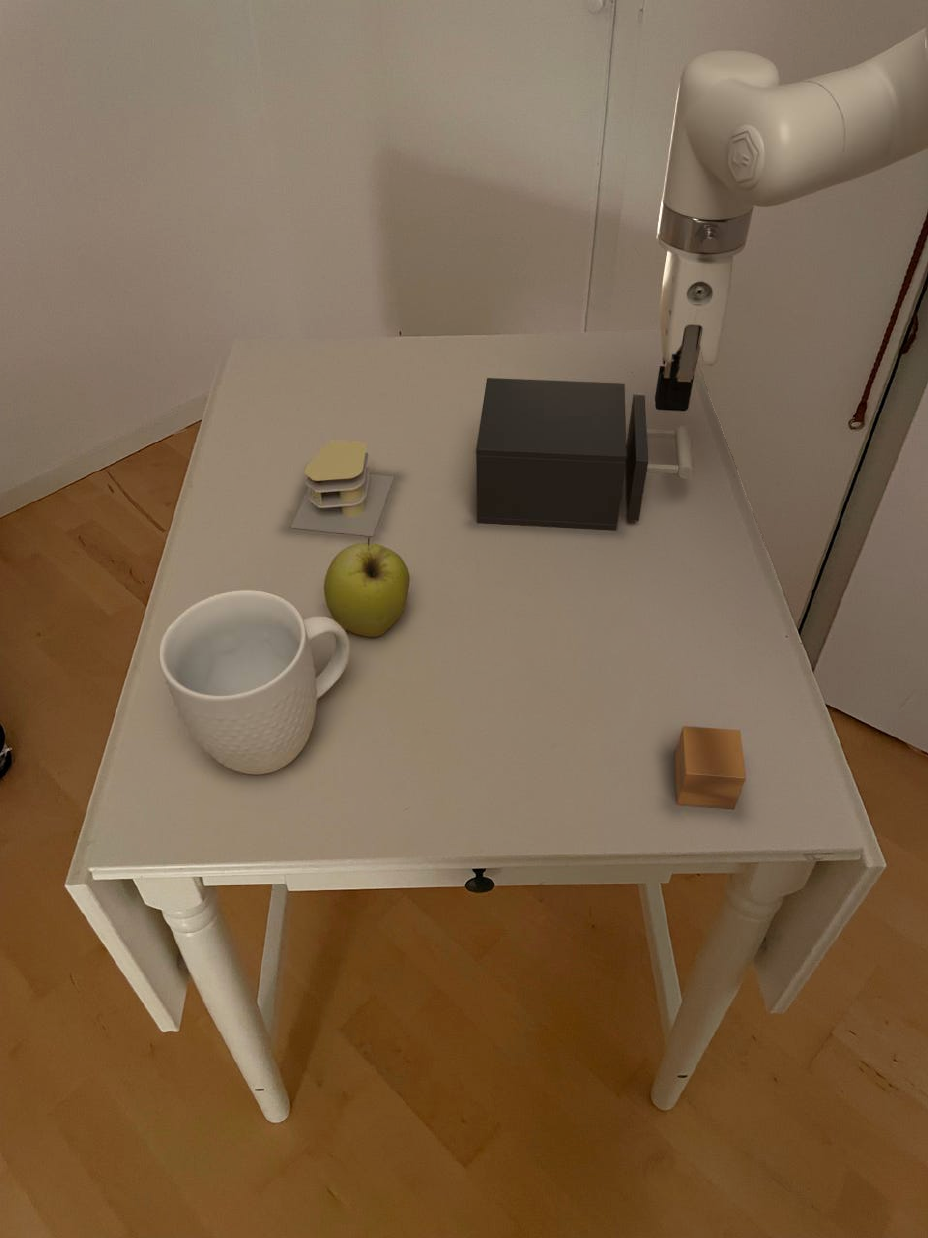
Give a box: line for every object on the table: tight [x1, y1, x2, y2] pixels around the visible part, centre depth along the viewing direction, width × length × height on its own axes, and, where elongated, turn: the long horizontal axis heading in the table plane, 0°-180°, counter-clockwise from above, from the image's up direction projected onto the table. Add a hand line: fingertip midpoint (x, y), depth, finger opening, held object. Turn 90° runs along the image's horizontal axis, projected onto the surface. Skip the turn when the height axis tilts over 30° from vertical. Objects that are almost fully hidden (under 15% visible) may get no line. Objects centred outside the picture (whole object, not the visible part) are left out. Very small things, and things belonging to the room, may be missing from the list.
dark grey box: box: [475, 377, 627, 531], centre depth 96 cm, size 15×13×10 cm
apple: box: [323, 537, 411, 638], centre depth 84 cm, size 8×8×10 cm
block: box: [673, 725, 747, 810], centre depth 73 cm, size 4×4×4 cm
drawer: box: [625, 394, 695, 522], centre depth 96 cm, size 18×11×8 cm, turn 84°
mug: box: [158, 589, 351, 775], centre depth 74 cm, size 15×11×13 cm
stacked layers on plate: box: [290, 439, 395, 537], centre depth 97 cm, size 10×9×6 cm
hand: (670, 405), depth 91 cm, fingers closed
